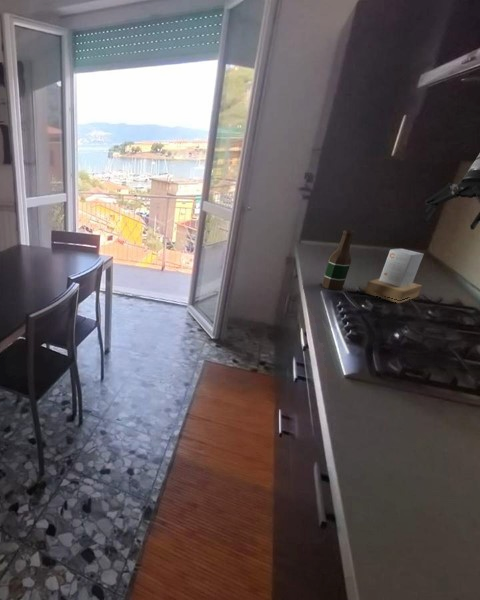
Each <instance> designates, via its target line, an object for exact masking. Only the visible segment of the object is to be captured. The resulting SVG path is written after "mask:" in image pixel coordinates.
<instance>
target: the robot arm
mask: <svg viewBox="0 0 480 600" xmlns="http://www.w3.org/2000/svg"><path fill="white" fill-rule="evenodd" d="M450 191H451V192H450ZM456 198H467V199H473V198H476V200H477V201H478V203H479V204H480V152H479V153H478V155H477V156H476V158H475V159H474V162H473V163H472V164H471V165H470V167H469V169H468V170H467V172H466V173H465V175H464V176H463V178H462V180H461V182H459V183H457V184H456V183H453V182H452V181H449V182H448V183H447V184H446V185H445V187H443V188H442V189H440V190H439V191H437V192H435V194H433V195H431V196H430V197H429V198H427V199H426V200H425V206H428V207H426V209H425V211H424V212H425V216H424V217H423V223H424V224H427V223H428V222H429V221H430V219H431V217H432V216H433V214H434V213H435V211H436V209H437V207H438V206H440V205H442V204H444V203H446V202H448V201H451V200H453V199H456ZM479 222H480V211H479V212H478V214H477V215H476V217H475V218H474V220H473V221H472V223H471V224H470V225H469V226H470V227H469V228H470V230H472V231H473V230H475V229H476V227H477V225H478V224H479Z"/></svg>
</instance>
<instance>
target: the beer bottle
mask: <svg viewBox="0 0 480 600" xmlns="http://www.w3.org/2000/svg"><path fill="white" fill-rule="evenodd" d="M342 233H343V234H342V237H341V239H340V242H339V245H338V247H337V249H336V250H334V251H333V252H332V253H331V254H330V256H329V258H328V262H327V265H326V269H325V272H324V275H323V279H322V283H321V286H322V287H323V288H325V289H328V290H333V291H340V290H341V291H342V289H343V287H344V286H345V282H346V279H347V276H348V273H349V269H350V267H351V263H352V255H351V252H350V248H351V245H352V239H353V236H354V235H355V231H354V230H348V229H345V230H343V231H342Z"/></svg>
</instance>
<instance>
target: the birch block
mask: <svg viewBox="0 0 480 600" xmlns="http://www.w3.org/2000/svg"><path fill="white" fill-rule="evenodd" d="M379 279H380V277H379V278H375V279H371V280H369V281H367V284H366V286H365V289H364V292H363V293H364V294H367V295H369V296H374V297H376V296H378V297H377V298H379V297H381V298H380V299H383V300H386V301H389V302H392V303H395V302H396V304H402V303H405V302H407V301H410V300H414V299H416V298H418V297H419V295H420V292H421V291H422V290H421V289H422V287H423V285H422V284H418V283H415V282H413V283H412V285H411V286H406V287H397V286H395V285H392V284H389V283H386V282H383V281H380V280H379ZM375 293H376V294H375ZM378 294H379V295H378ZM381 295H382V296H381ZM384 296H386V297H384ZM387 297H390V298H387ZM407 297H410V298H408V299H405V298H407ZM391 298H393V299H391ZM394 299H397V300H402V299H405V300H402V301H397V300H394ZM409 299H410V300H409Z"/></svg>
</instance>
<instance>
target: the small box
mask: <svg viewBox="0 0 480 600" xmlns="http://www.w3.org/2000/svg"><path fill="white" fill-rule="evenodd" d="M424 256H425V253H423V252H418V251H414V250H410V249H406V248H392V249H391V248H390V249H389V252H388V255H387V257H386V260H385V263H384V265H383V268H382V270H381V273H380V277H379V278H380V279H379V280H380V281H383V282H386V283H389V284H392V285H395V286H397V287H406V286H411V285H412V283H414V280H415V278H416V275H417V273H418V270H419V268H420V265H421V262H422V260H423V257H424Z"/></svg>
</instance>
